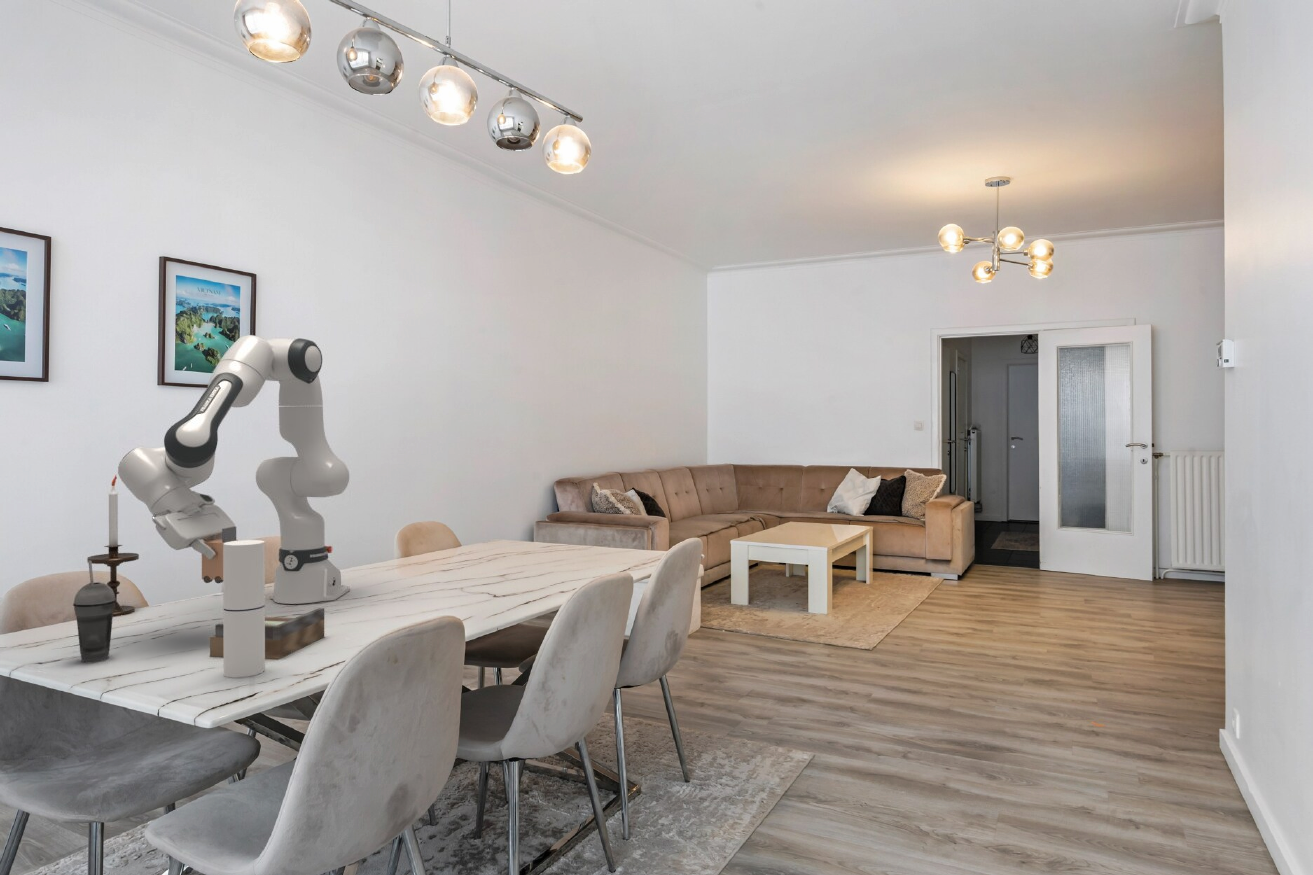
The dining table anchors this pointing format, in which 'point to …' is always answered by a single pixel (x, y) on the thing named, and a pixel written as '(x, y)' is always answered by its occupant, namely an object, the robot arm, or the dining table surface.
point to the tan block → (217, 557)
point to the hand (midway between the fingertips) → (222, 554)
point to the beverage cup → (94, 619)
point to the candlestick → (114, 553)
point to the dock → (281, 634)
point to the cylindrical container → (244, 608)
